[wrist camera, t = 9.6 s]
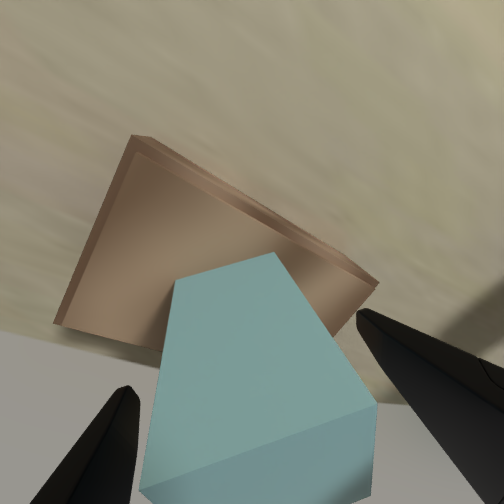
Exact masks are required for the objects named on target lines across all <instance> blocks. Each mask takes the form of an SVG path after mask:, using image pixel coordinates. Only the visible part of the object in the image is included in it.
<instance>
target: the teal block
mask: <svg viewBox="0 0 504 504" xmlns="http://www.w3.org/2000/svg"><path fill="white" fill-rule="evenodd" d="M376 417H377V402H376V401H375V399H374V398H373V396H372V395H371V393H370V392H369V391H368V389H367V388H366V386H365V385H364V383H363V382H362V380H361V379H360V377H359V376H358V374H357V373H356V371H355V370H354V368H353V367H352V366H351V364H350V363H349V361H348V360H347V358H346V357H345V355H344V354H343V352H342V351H341V349H340V348H339V346H338V345H337V343H336V342H335V341H334V339H333V338H332V336H331V335H330V333H329V332H328V330H327V329H326V327H325V326H324V324H323V323H322V321H321V320H320V318H319V317H318V316H317V314H316V313H315V311H314V310H313V308H312V307H311V305H310V304H309V302H308V301H307V299H306V298H305V296H304V295H303V293H302V292H301V291H300V289H299V288H298V286H297V285H296V283H295V282H294V280H293V279H292V277H291V276H290V274H289V273H288V271H287V270H286V268H285V267H284V266H283V264H282V263H281V261H280V260H279V258H278V257H277V255H276V254H275V252H272V253H268V254H265V255H261V256H258V257H254V258H251V259H247V260H244V261H240V262H237V263H233V264H230V265H226V266H223V267H219V268H216V269H212V270H209V271H206V272H202V273H199V274H195V275H192V276H188V277H185V278H181V279H178V280H175V286H174V292H173V297H172V303H171V309H170V314H169V320H168V326H167V332H166V337H165V343H164V349H163V354H162V360H161V366H160V372H159V377H158V383H157V388H156V394H155V400H154V406H153V411H152V417H151V423H150V428H149V434H148V440H147V445H146V451H145V457H144V463H143V468H142V475H141V480H140V485H139V491H140V492H141V493H142V494H143V495H144V496H145V497H146V498H147V499H148V500H150V501H151V502H152V503H153V504H351V503H354V502H356V501H359V500H361V499H364V498H366V497H369V496H371V485H372V471H373V458H374V444H375V431H376Z"/></svg>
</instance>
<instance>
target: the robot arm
mask: <svg viewBox="0 0 504 504" xmlns="http://www.w3.org/2000/svg"><path fill="white" fill-rule="evenodd" d="M356 326H357V329H358V332H359V333H360V335H361V336H362V338H363V340H364V341H365V343H366V344H367V346H368V348H369V349H370V351H371V353H372V354H373V356H374V357H375V359H376V361H377V362H378V364H379V365H380V367H381V368H382V370H383V371H384V372H385V374H386V375H387V376H388V378H389V379H390V380H391V381H392V383H393V384H394V385H395V387H396V388H397V389H398V391H399V392H400V393H401V395H402V396H403V397H404V399H405V400H406V401H407V402H408V404H409V405H410V406H411V408H412V409H413V410H414V412H415V413H416V414H417V416H418V417H419V418H420V419H421V421H422V422H423V423H424V425H425V426H426V427H427V429H428V430H429V431H430V433H431V434H432V435H433V437H434V438H435V439H436V440H437V442H438V443H439V444H440V446H441V447H442V448H443V450H444V451H445V452H446V454H447V455H448V456H449V457H450V459H451V460H452V461H453V463H454V464H455V465H456V467H457V468H458V469H459V471H460V472H461V473H462V474H463V476H464V477H465V478H466V480H467V481H468V482H469V484H470V485H471V486H472V488H473V489H474V490H475V491H476V493H477V494H478V495H479V497H480V498H481V499H482V501H483V502H484V503H485V504H504V368H502V367H499V366H497V365H495V364H492V363H490V362H488V361H486V360H483V359H481V358H477V357H476V356H474V355H472V354H470V353H467V352H465V351H463V350H461V349H458V348H456V347H454V346H452V345H449V344H447V343H445V342H443V341H440V340H438V339H436V338H434V337H431V336H429V335H427V334H425V333H422V332H420V331H418V330H416V329H413V328H411V327H409V326H407V325H404V324H402V323H400V322H398V321H395V320H393V319H391V318H389V317H386V316H384V315H382V314H380V313H377V312H375V311H373V310H371V309H368V308H364V309H361V310H358V311H357V312H356ZM139 418H140V399H139V397H138V395H137V394H136V393H135V391H134V390H133V389H132V387H130V386H129V385H127V386H124V387H121V388H118V389H117V390H116V391H115V392H114V393H113V394H112V396H111V397H110V398H109V400H108V401H107V402H106V404H105V405H104V406H103V408H102V409H101V410H100V412H99V413H98V414H97V416H96V417H95V418H94V419H93V421H92V422H91V423H90V425H89V426H88V427H87V429H86V430H85V431H84V433H83V434H82V435H81V437H80V438H79V439H78V441H77V442H76V443H75V445H74V446H73V447H72V449H71V450H70V451H69V452H68V454H67V455H66V456H65V458H64V459H63V460H62V462H61V463H60V464H59V466H58V467H57V468H56V470H55V471H54V472H53V473H52V475H51V476H50V477H49V479H48V480H47V482H46V483H45V484H44V485H43V487H42V488H41V489H40V491H39V492H38V493H37V495H36V496H35V497H34V499H33V500H32V501H31V502H30V504H129V503H130V496H131V490H132V484H133V477H134V471H135V465H136V458H137V450H138V435H139V434H138V433H139Z"/></svg>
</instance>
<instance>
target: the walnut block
mask: <svg viewBox="0 0 504 504" xmlns="http://www.w3.org/2000/svg"><path fill="white" fill-rule="evenodd" d="M272 252H275V254H276V255H277V257H278V258H279V260H280V261H281V263H282V264H283V266H284V267H285V268H286V270H287V271H288V273H289V274H290V276H291V277H292V279H293V280H294V282H295V283H296V285H297V286H298V288H299V289H300V291H301V292H302V293H303V295H304V296H305V298H306V299H307V301H308V302H309V304H310V305H311V307H312V308H313V310H314V311H315V313H316V314H317V316H318V317H319V318H320V320H321V321H322V323H323V324H324V326H325V327H326V329H327V330H328V332H329V333H330V335H331V336H332V338H333V337H334V336H335V335H336V334H337V332H338V331H339V330H340V329H341V328H342V327H343V325H344V324H345V323H346V322H347V321H348V320H349V319H350V317H351V316H352V315H353V314H354V313H355V312H356V311H357V309H358V308H359V307H360V306H361V305H362V304H363V303H364V301H365V300H366V299H367V298H368V297H369V296H370V295H371V293H372V292H373V291H374V290H375V287H376V286H377V285H378V284H379V281H377V280H376V279H375V278H373V277H372V276H371V275H370V274H368V273H367V272H366V271H364V270H363V269H362V268H361V267H359V266H358V265H357V264H355V263H354V262H353V261H352V260H350V259H349V258H348V257H346V256H345V255H343V254H342V253H340V252H339V251H337V250H335V249H334V248H332V247H330V246H329V245H327V244H325V243H324V242H322V241H321V240H319V239H317V238H316V237H314V236H312V235H311V234H309V233H307V232H306V231H304V230H303V229H301V228H299V227H298V226H296V225H294V224H293V223H291V222H289V221H288V220H286V219H285V218H283V217H281V216H280V215H278V214H276V213H275V212H273V211H271V210H270V209H268V208H266V207H265V206H263V205H262V204H260V203H258V202H257V201H255V200H253V199H252V198H250V197H248V196H247V195H245V194H244V193H242V192H240V191H239V190H237V189H235V188H234V187H232V186H230V185H229V184H227V183H226V182H224V181H222V180H221V179H219V178H217V177H216V176H214V175H212V174H211V173H209V172H207V171H206V170H204V169H203V168H201V167H199V166H198V165H196V164H194V163H193V162H191V161H189V160H188V159H186V158H185V157H183V156H181V155H180V154H178V153H176V152H175V151H173V150H171V149H170V148H168V147H167V146H165V145H163V144H162V143H160V142H158V141H157V140H155V139H153V138H152V137H147V136H138V135H131V137H130V139H129V142H128V144H127V146H126V149H125V151H124V154H123V156H122V158H121V161H120V163H119V166H118V168H117V170H116V173H115V175H114V178H113V180H112V182H111V185H110V187H109V190H108V192H107V194H106V197H105V199H104V202H103V204H102V206H101V209H100V211H99V214H98V216H97V218H96V221H95V223H94V226H93V228H92V231H91V233H90V235H89V238H88V240H87V243H86V245H85V247H84V250H83V252H82V255H81V257H80V259H79V262H78V264H77V267H76V269H75V271H74V274H73V276H72V279H71V281H70V283H69V286H68V288H67V291H66V293H65V295H64V298H63V300H62V303H61V305H60V307H59V310H58V312H57V315H56V317H55V319H54V322H53V324H57V325H61V326H64V327H67V328H71V329H75V330H79V331H83V332H87V333H91V334H95V335H99V336H102V337H106V338H110V339H114V340H118V341H122V342H126V343H130V344H134V345H138V346H141V347H145V348H149V349H153V350H157V351H161V352H163V349H164V343H165V337H166V332H167V326H168V320H169V314H170V309H171V303H172V297H173V292H174V286H175V280H178V279H181V278H185V277H188V276H192V275H195V274H199V273H202V272H206V271H209V270H212V269H216V268H219V267H223V266H226V265H230V264H233V263H237V262H240V261H244V260H247V259H251V258H254V257H258V256H261V255H265V254H268V253H272Z"/></svg>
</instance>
